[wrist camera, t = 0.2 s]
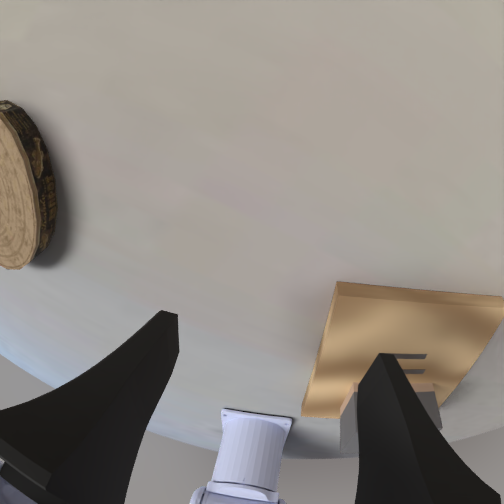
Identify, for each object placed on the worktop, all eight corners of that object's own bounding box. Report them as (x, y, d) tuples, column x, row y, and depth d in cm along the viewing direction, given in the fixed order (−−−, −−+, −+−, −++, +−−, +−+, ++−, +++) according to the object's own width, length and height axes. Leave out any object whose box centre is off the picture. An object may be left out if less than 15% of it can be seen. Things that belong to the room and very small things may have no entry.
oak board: (428, 405, 26) (430, 416, 25) (301, 404, 28) (300, 416, 27) (501, 296, 18) (508, 308, 17) (336, 281, 20) (338, 295, 19)
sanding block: (413, 407, 24) (419, 449, 20) (340, 407, 25) (340, 453, 21) (432, 382, 22) (442, 427, 18) (353, 382, 23) (355, 432, 19)
